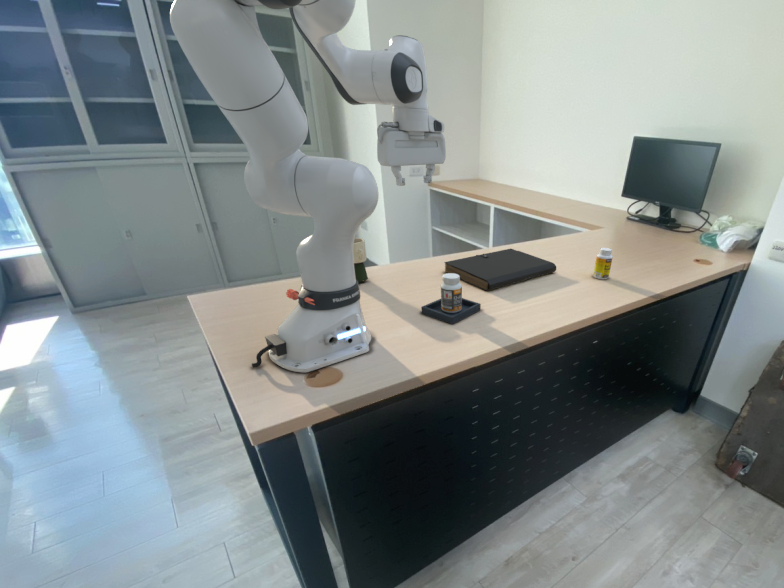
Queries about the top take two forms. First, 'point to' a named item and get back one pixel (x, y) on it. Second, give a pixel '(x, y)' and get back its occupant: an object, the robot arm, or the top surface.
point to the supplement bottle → (603, 264)
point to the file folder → (499, 268)
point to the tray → (437, 312)
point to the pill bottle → (451, 293)
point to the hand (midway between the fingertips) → (414, 184)
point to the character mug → (359, 259)
